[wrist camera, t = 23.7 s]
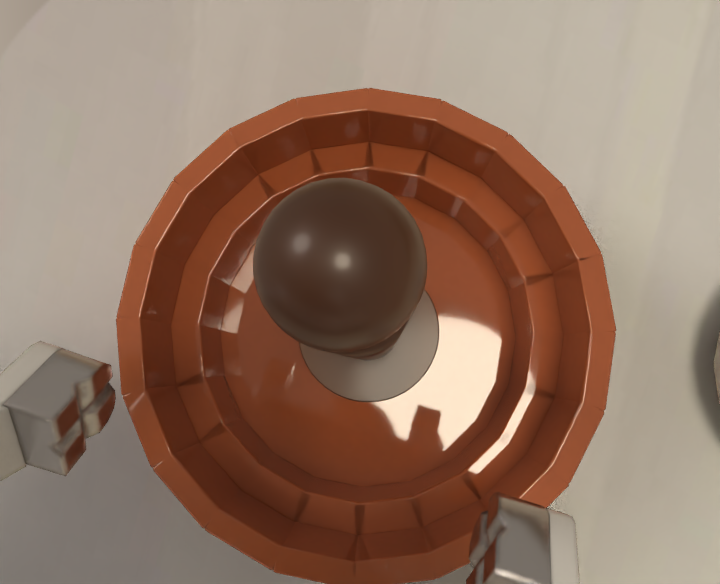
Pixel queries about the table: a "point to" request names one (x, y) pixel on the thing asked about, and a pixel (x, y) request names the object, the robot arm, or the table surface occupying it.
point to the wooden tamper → (349, 287)
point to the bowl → (352, 418)
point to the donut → (717, 367)
